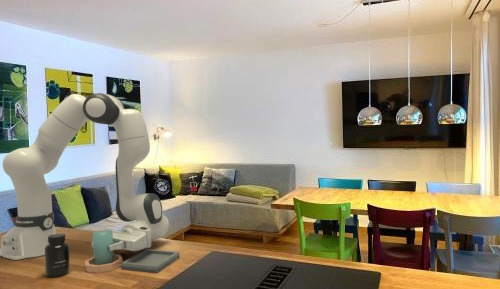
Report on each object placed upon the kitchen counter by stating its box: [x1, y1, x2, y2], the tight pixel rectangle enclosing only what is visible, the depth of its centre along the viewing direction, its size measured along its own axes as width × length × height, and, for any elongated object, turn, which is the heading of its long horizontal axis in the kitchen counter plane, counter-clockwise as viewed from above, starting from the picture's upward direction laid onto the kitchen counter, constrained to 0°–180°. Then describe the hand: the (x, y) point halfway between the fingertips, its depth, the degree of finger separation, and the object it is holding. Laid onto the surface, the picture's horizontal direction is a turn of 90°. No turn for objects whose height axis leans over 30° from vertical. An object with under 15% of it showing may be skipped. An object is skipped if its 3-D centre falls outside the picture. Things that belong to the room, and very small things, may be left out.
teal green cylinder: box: [92, 229, 115, 265], centre depth 121 cm, size 6×6×11 cm
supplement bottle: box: [44, 233, 71, 278], centre depth 116 cm, size 7×7×12 cm
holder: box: [84, 253, 124, 274], centre depth 122 cm, size 11×11×2 cm
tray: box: [120, 248, 180, 274], centre depth 123 cm, size 13×14×2 cm
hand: (100, 246), depth 121 cm, fingers closed on teal green cylinder, 6 cm apart
